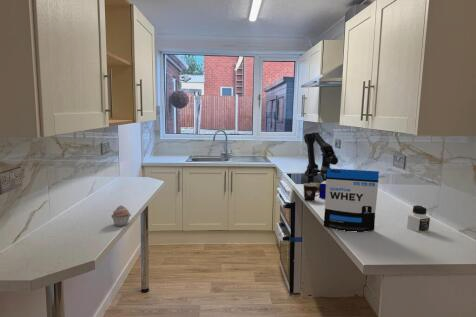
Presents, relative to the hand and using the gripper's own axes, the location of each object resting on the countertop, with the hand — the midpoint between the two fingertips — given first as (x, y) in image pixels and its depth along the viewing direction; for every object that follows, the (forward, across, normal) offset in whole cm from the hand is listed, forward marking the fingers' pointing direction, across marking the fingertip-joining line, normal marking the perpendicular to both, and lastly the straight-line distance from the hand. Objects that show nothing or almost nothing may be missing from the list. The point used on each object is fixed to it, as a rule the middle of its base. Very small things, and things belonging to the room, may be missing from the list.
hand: (324, 183), depth 254 cm
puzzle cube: (+5, +6, -22) cm, 24 cm away
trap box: (+4, -2, -3) cm, 6 cm away
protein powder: (+5, +24, -79) cm, 83 cm away
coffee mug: (+5, -3, -35) cm, 36 cm away
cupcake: (+5, -80, -124) cm, 148 cm away
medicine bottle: (+4, +56, -65) cm, 86 cm away
